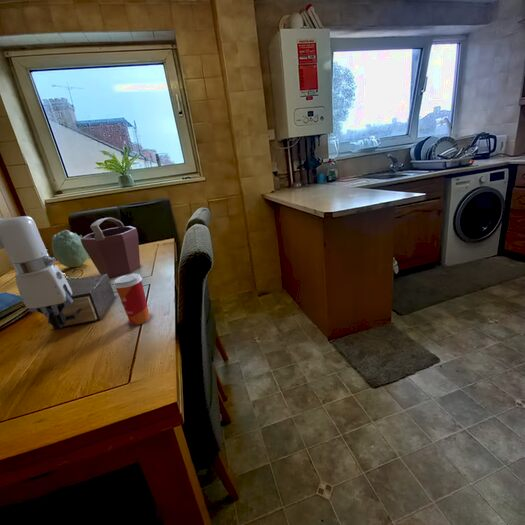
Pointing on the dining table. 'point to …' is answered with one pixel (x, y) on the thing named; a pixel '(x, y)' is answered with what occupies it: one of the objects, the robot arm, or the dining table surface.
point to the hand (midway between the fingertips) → (60, 325)
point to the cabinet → (94, 293)
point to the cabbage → (69, 249)
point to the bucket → (113, 248)
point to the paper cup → (133, 298)
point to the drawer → (78, 311)
